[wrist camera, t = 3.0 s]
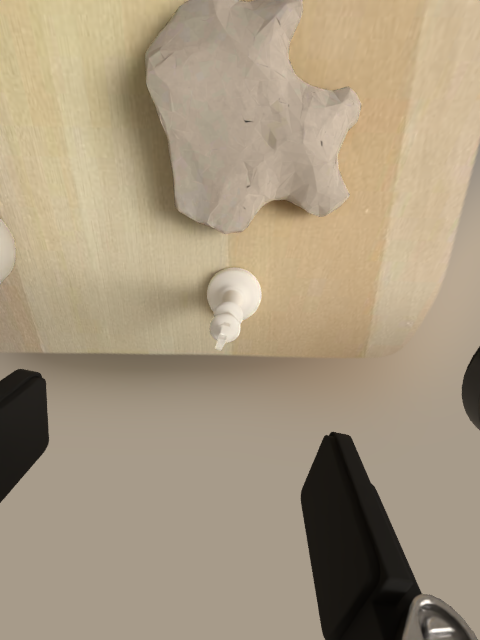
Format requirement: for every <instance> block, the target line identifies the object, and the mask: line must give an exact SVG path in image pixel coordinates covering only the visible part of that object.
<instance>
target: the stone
mask: <svg viewBox="0 0 480 640" xmlns="http://www.w3.org/2000/svg"><path fill="white" fill-rule="evenodd" d="M302 13H303V0H254V1H251V2H246V1H239V0H189V1H187V2H185V3H184V4H182V5H181V6H180V7H179V8H178V9H177V11H176V12H175V13H174V15H173V16H172V17H171V19H170V20H169V22H168V23H167V24H166V26H165V27H164V28H163V29H162V31H161V32H160V33H159V34H158V35H157V37H156V38H155V39H154V41H153V42H152V43H151V45H150V46H149V47H148V49H147V51H146V55H145V66H146V85H147V88H148V90H149V93H150V95H151V97H152V100H153V102H154V105H155V107H156V109H157V113H158V116H159V119H160V121H161V124H162V126H163V129H164V131H165V133H166V135H167V138H168V147H169V155H170V161H171V166H172V172H173V183H174V198H175V207H176V208H177V209H178V211H180V212H181V213H183V214H184V215H186V216H188V217H189V218H191V219H193V220H195V221H196V222H198V223H202V224H204V225H207V226H209V227H212V228H214V229H216V230H218V231H220V232H222V233H224V234H228V233H237V232H242V231H243V230H245V229H246V228H247V227H248V226H249V224H250V222H251V221H252V219H253V218H254V216H255V215H256V213H257V212H258V211H259V209H260V208H261V207H262V206H264V205H265V204H267V203H268V202H270V201H273V200H287V201H289V202H291V203H293V204H295V205H297V206H299V207H301V208H303V209H305V210H306V211H307V212H308V213H311V214H313V215H316V216H319V217H322V216H326V215H328V214H329V213H331V212H332V211H334V210H335V209H337V208H338V207H340V206H341V205H342V204H343V203H344V202H345V201H346V200H347V199H348V197H349V195H350V194H349V192H348V190H347V188H346V186H345V184H344V182H343V179H342V177H341V174H340V171H339V166H338V153H339V151H340V148H341V146H342V144H343V141H344V139H345V137H346V134H347V132H348V130H349V129H350V128H351V127H352V126H353V125H354V124H355V123H356V122H357V121H358V118H359V114H360V110H361V103H360V100H359V98H358V96H357V93H355V92H354V91H353V90H352V89H351V88H350V87H345V88H341V89H337V90H334V91H331V90H325V89H321V88H318V87H315V86H312V85H309V84H307V83H306V82H304V81H303V80H301V79H300V78H299V77H298V76H297V75H295V73H294V70H293V67H292V65H291V62H290V60H289V55H288V52H289V45H290V41H291V39H292V37H293V35H294V32H295V30H296V28H297V26H298V24H299V21H300V19H301V16H302Z"/></svg>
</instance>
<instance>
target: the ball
mask: <svg viewBox="0 0 480 640" xmlns="http://www.w3.org/2000/svg"><path fill="white" fill-rule="evenodd" d="M15 258H16V246H15V241H14V238H13V236H12V233H11V231H10V230H9V228H8V227H7V226H6V224H5V223H4V222H3V220H2V219H1V218H0V284H1V283H2V282H3V281H4V279H5V278H6V277H7V276H8V275H9V274H10V273H11V272H12V269H13V267H14V264H15Z"/></svg>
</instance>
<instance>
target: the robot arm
mask: <svg viewBox="0 0 480 640" xmlns="http://www.w3.org/2000/svg"><path fill="white" fill-rule="evenodd" d="M48 442H49V434H48V416H47V397H46V381H45V379H43V378H42V376H41V374H40V373H38V372H34V371H28V370H24V369H18V370H16V371H14V372H13V373H11V374H10V375H8V376H7V377H6V378H4V379H2V380H1V381H0V503H1V501H2V500H3V499H4V498H5V497H6V496H7V494H8V493H9V492H10V491H11V490H12V489H13V487H14V486H15V485H16V484H17V483H18V482H19V480H20V479H21V478H22V477H23V476H24V474H25V473H26V472H27V471H28V470H29V469H30V468H31V467H32V465H33V464H34V463H35V462H36V461H37V459H38V458H39V457H40V456H41V455H42V454H43V453H44V451H45V450H46V448H47V445H48ZM301 504H302V511H303V517H304V523H305V529H306V535H307V541H308V548H309V554H310V560H311V566H312V572H313V578H314V584H315V590H316V597H317V602H318V609H319V615H320V621H321V627H322V632H323V636H324V638H325V640H478V639H477V637H476V636H475V634H474V632H473V631H472V630H471V628H470V627H469V626H468V625H467V623H466V622H465V620H464V619H463V618H462V617H461V616H460V615H459V614H458V613H457V612H456V611H455V610H454V609H453V608H452V607H451V606H449V605H448V604H446V603H445V602H444V601H442V600H441V599H439V598H436V597H434V596H432V595H427V594H422V593H421V591H420V589H419V587H418V584H417V582H416V580H415V577H414V575H413V573H412V570H411V568H410V566H409V564H408V561H407V559H406V557H405V555H404V552H403V550H402V548H401V545H400V543H399V541H398V538H397V536H396V534H395V532H394V529H393V527H392V525H391V523H390V520H389V518H388V516H387V513H386V511H385V509H384V506H383V504H382V502H381V499H380V497H379V495H378V493H377V491H376V489H375V487H374V486H373V485H372V484H371V483H370V480H369V478H368V475H367V473H366V471H365V469H364V466H363V464H362V461H361V459H360V457H359V455H358V452H357V450H356V447H355V445H354V443H353V441H352V438H351V437H350V436H349V435H346V434H341V433H336V432H331V433H330V435H329V436H328V435H326V436H324V438H323V440H322V443H321V445H320V448H319V450H318V452H317V455H316V457H315V460H314V462H313V464H312V467H311V469H310V471H309V474H308V476H307V478H306V481H305V483H304V486H303V488H302V491H301Z"/></svg>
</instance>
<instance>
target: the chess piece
mask: <svg viewBox="0 0 480 640" xmlns="http://www.w3.org/2000/svg"><path fill="white" fill-rule="evenodd" d="M261 296H262V293H261V287H260V284H259V282H258V280H257V279H256V278H255V276H254V275H253V274H251V273H250V272H248V271H247V270H245V269H242V268H237V267H231V268H226V269H223V270H221V271H219V272H218V273H216V274H215V275H214V276H213V277H212V279H211V280H210V282H209V285H208V289H207V300H208V304H209V306H210V308H211V309H212V311H213V312H214V318H213V319H212V320H211V322H210V326H209V329H210V333H211V335H212V337H213V338H214V339H215V340H217V343H216V346H215V349H217V350H220V351H222V348H223V346H224V344H225V343H229V342H232V341H234V340H235V339H236V338H237V337H238V336H239V334H240V324H241V322H242V320H245V319H247V318H249V317H250V316H251V315H253V314H254V313H255V311H256V310H257V308H258V306H259V304H260V301H261Z"/></svg>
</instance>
